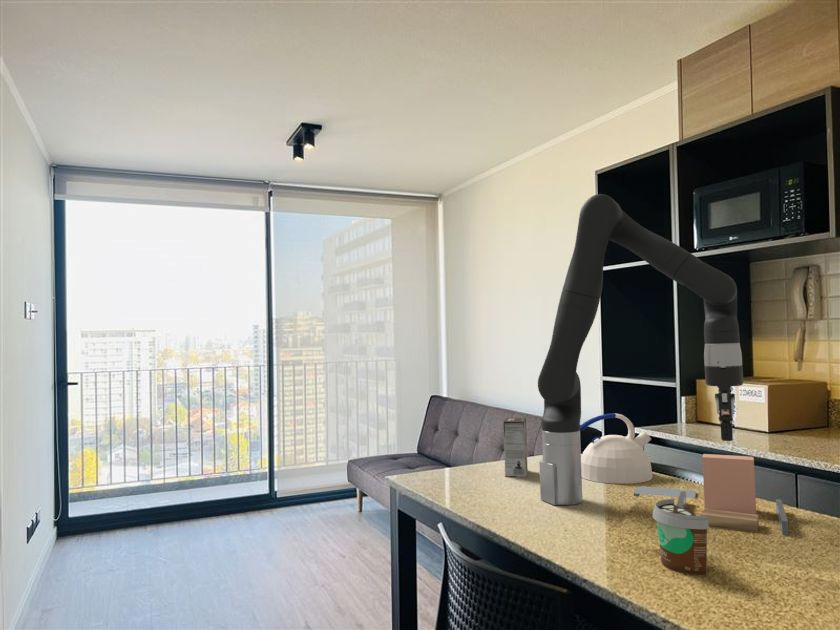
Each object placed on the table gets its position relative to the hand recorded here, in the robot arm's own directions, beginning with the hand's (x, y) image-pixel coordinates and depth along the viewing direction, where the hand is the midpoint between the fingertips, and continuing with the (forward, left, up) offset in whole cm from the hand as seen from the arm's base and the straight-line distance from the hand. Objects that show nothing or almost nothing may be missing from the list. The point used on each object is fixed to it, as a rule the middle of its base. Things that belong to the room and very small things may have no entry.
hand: (727, 437), depth 137 cm
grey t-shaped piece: (+1, +21, -17) cm, 27 cm away
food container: (-32, -18, -17) cm, 41 cm away
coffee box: (-20, +59, -17) cm, 65 cm away
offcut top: (-9, -8, -16) cm, 20 cm away
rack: (-5, -4, -17) cm, 18 cm away
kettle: (+4, +44, -18) cm, 47 cm away
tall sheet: (0, 0, -17) cm, 17 cm away
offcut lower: (-9, -8, -18) cm, 22 cm away
